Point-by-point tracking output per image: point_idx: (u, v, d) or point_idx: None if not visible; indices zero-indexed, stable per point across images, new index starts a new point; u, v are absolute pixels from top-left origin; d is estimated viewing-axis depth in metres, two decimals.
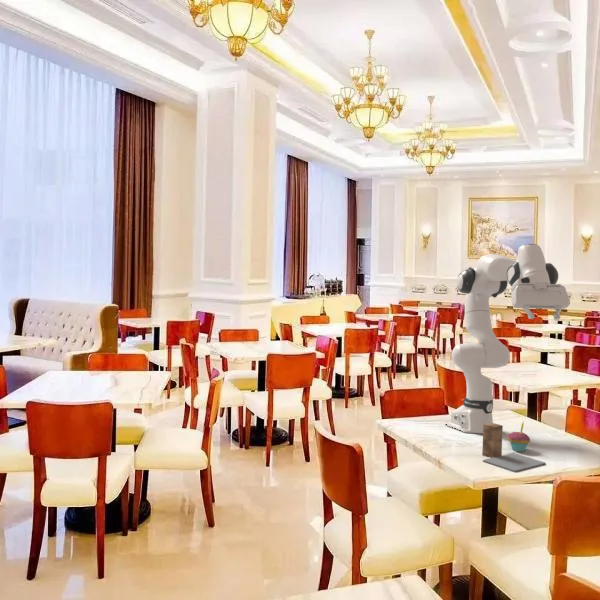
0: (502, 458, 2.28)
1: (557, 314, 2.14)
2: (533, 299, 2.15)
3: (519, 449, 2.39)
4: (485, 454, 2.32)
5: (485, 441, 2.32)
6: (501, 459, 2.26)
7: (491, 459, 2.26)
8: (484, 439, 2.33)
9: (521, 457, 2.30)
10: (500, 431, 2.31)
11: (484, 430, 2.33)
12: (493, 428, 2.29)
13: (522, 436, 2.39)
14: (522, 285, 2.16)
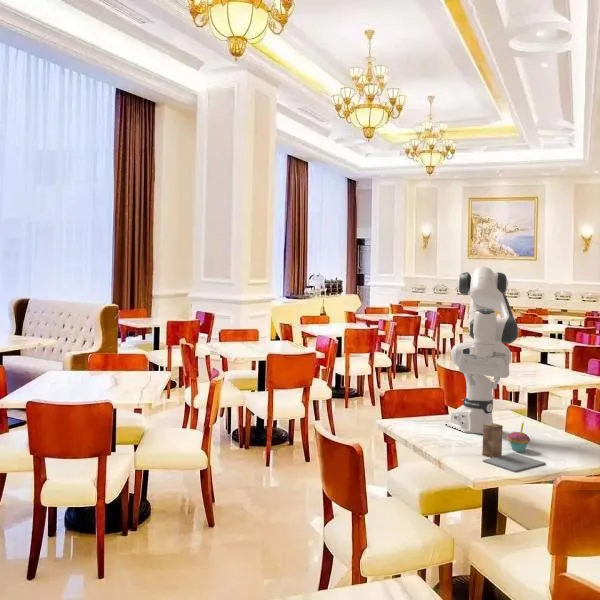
0: (502, 458, 2.28)
1: (492, 385, 2.31)
2: (473, 369, 2.36)
3: (519, 449, 2.39)
4: (485, 454, 2.32)
5: (485, 441, 2.32)
6: (501, 459, 2.26)
7: (491, 459, 2.26)
8: (484, 439, 2.33)
9: (521, 457, 2.30)
10: (500, 431, 2.31)
11: (484, 430, 2.33)
12: (493, 428, 2.29)
13: (522, 436, 2.39)
14: (464, 355, 2.38)
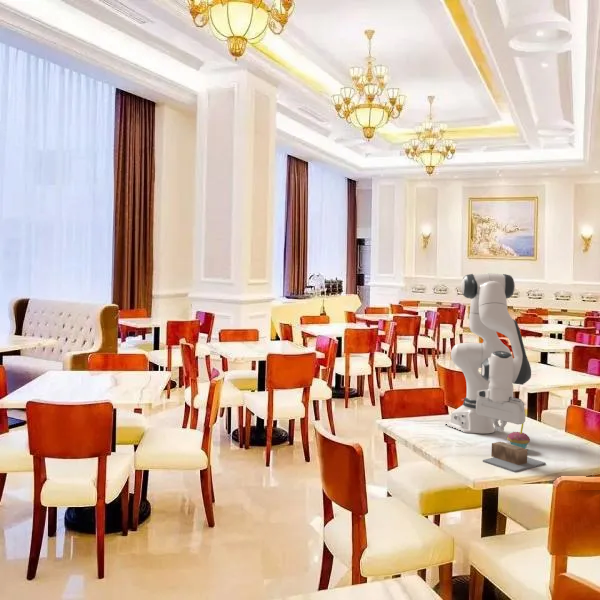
0: None
1: (499, 428, 2.29)
2: (489, 412, 2.31)
3: None
4: (493, 447, 2.29)
5: (504, 450, 2.25)
6: None
7: (491, 459, 2.26)
8: (505, 449, 2.25)
9: None
10: None
11: (513, 451, 2.22)
12: (517, 463, 2.21)
13: (522, 436, 2.39)
14: (480, 397, 2.34)
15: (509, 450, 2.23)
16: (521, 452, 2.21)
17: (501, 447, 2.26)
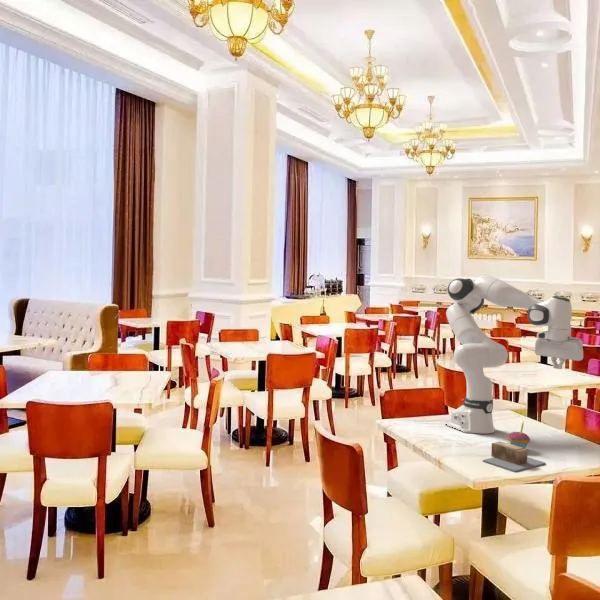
0: None
1: (557, 365, 2.51)
2: (548, 352, 2.54)
3: None
4: (493, 447, 2.29)
5: (504, 450, 2.25)
6: None
7: (491, 459, 2.26)
8: (505, 449, 2.25)
9: None
10: None
11: (513, 451, 2.22)
12: (517, 463, 2.21)
13: (522, 436, 2.39)
14: (540, 339, 2.56)
15: (509, 450, 2.23)
16: (521, 452, 2.21)
17: (501, 447, 2.26)
